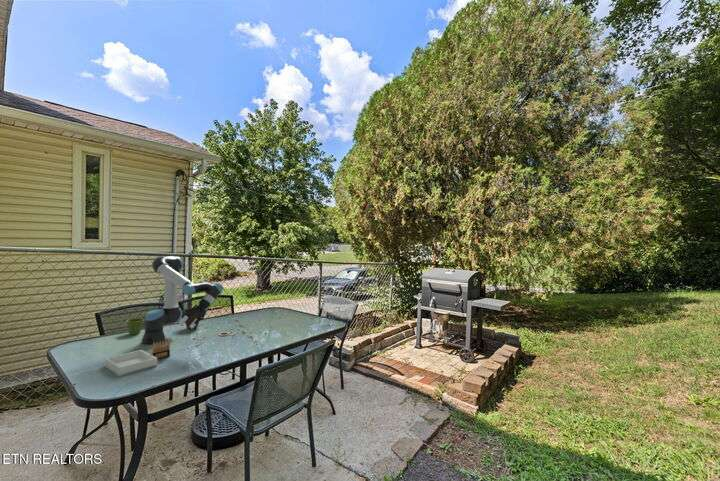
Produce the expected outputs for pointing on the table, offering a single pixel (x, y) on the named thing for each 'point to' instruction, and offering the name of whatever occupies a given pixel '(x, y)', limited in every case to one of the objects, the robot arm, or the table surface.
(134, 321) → the plant pot
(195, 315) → the plant pot
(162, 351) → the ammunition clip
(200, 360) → the table surface
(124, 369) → the box
